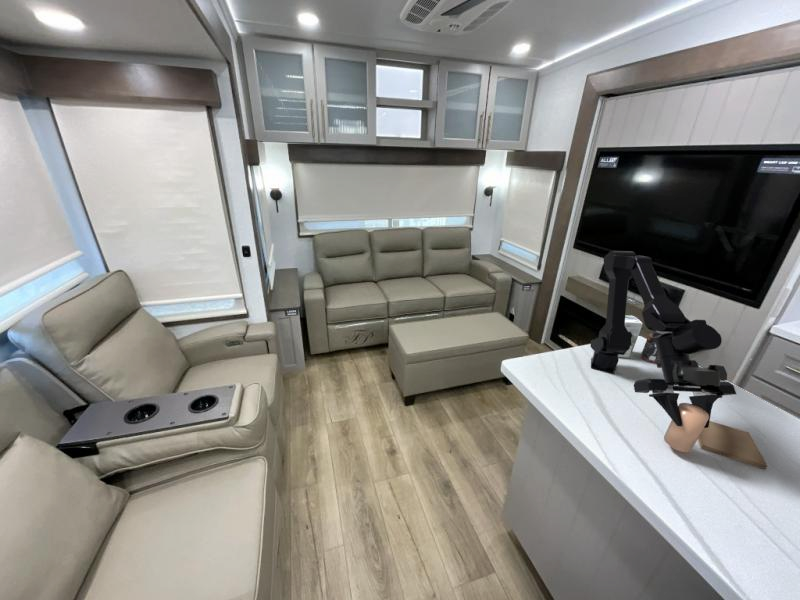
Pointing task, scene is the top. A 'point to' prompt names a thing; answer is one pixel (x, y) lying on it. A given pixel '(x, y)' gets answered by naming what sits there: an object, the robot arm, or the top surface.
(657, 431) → the top surface
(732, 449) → the walnut serving board
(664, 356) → the robot arm
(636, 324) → the syrup box
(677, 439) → the peach rounded cylinder
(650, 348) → the supplement bottle
